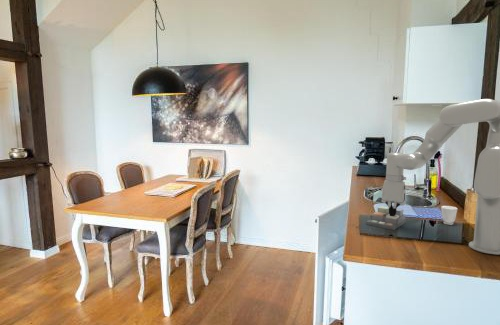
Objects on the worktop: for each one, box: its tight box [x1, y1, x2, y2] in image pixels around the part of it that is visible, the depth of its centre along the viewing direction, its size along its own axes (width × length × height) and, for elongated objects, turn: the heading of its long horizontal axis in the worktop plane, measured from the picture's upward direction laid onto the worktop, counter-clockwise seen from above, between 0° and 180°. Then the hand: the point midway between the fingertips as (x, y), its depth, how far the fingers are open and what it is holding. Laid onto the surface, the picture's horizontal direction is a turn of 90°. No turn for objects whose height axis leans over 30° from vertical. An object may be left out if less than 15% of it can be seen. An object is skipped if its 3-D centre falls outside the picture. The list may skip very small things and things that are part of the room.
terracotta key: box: [372, 211, 386, 217], centre depth 160 cm, size 5×5×3 cm
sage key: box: [377, 205, 389, 215], centre depth 165 cm, size 5×5×3 cm
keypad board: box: [366, 213, 406, 231], centre depth 159 cm, size 13×17×4 cm
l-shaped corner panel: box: [372, 190, 382, 202], centre depth 198 cm, size 12×12×8 cm
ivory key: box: [386, 214, 399, 219], centre depth 156 cm, size 5×5×3 cm
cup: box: [440, 205, 458, 226], centre depth 160 cm, size 7×10×8 cm
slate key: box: [396, 207, 404, 217], centre depth 160 cm, size 5×5×3 cm
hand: (392, 215), depth 156 cm, fingers closed
